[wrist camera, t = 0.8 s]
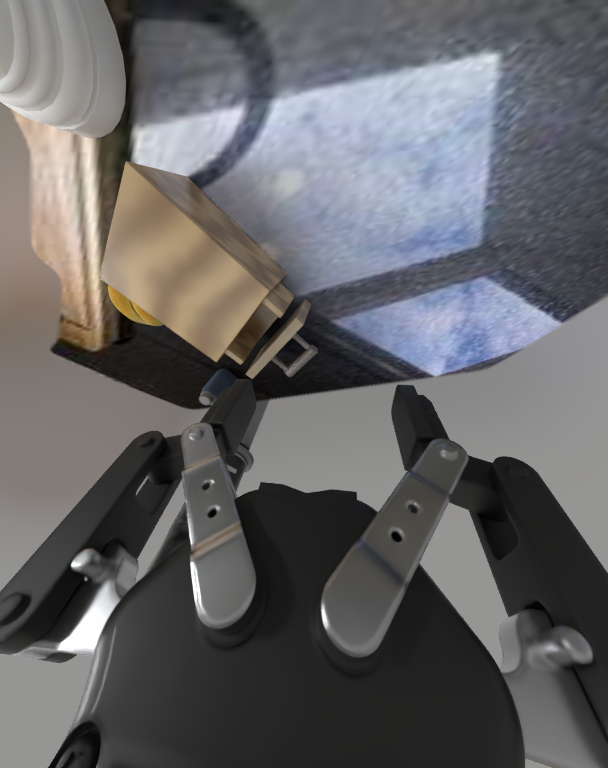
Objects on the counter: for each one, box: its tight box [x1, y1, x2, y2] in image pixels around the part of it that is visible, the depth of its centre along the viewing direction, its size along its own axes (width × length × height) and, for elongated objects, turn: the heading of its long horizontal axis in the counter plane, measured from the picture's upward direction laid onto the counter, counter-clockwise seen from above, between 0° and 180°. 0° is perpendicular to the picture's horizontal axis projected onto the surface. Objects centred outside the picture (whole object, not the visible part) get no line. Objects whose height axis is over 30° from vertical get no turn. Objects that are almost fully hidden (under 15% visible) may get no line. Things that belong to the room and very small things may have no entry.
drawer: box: [224, 283, 318, 379], centre depth 31 cm, size 19×11×8 cm, turn 48°
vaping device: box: [199, 368, 238, 406], centre depth 40 cm, size 3×5×12 cm, turn 41°
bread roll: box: [108, 285, 164, 326], centre depth 36 cm, size 8×9×4 cm
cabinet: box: [99, 161, 287, 362], centre depth 29 cm, size 16×13×10 cm
